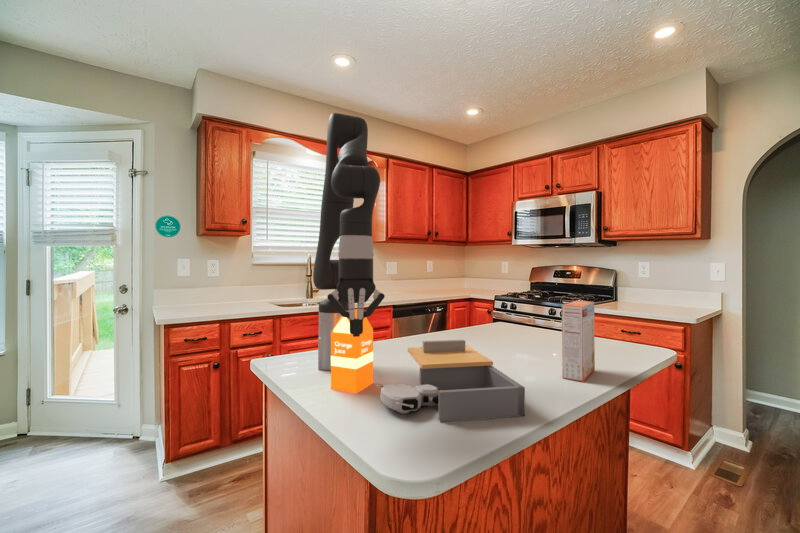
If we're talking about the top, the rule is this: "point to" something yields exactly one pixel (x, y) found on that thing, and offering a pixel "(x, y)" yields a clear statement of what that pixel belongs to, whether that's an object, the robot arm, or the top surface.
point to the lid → (447, 355)
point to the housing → (474, 393)
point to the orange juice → (351, 357)
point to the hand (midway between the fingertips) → (356, 336)
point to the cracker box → (578, 340)
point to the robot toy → (408, 396)
